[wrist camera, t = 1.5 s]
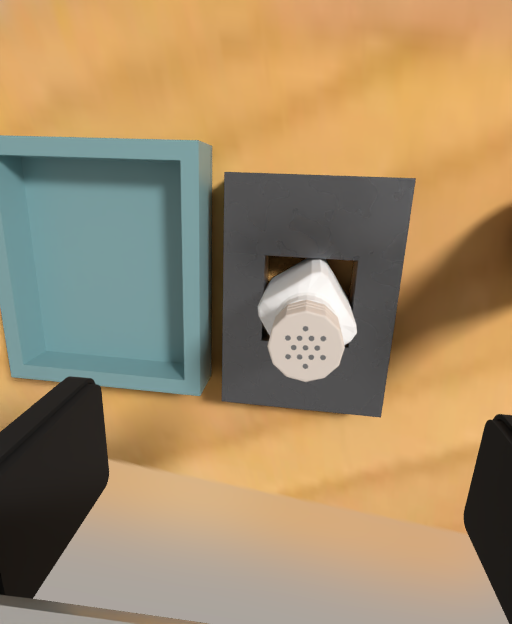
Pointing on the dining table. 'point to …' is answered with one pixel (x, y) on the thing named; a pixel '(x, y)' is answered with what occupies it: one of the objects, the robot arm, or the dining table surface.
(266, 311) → the pepper shaker
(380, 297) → the socket block
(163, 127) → the dining table surface
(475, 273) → the dining table surface
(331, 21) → the dining table surface
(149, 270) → the tray
